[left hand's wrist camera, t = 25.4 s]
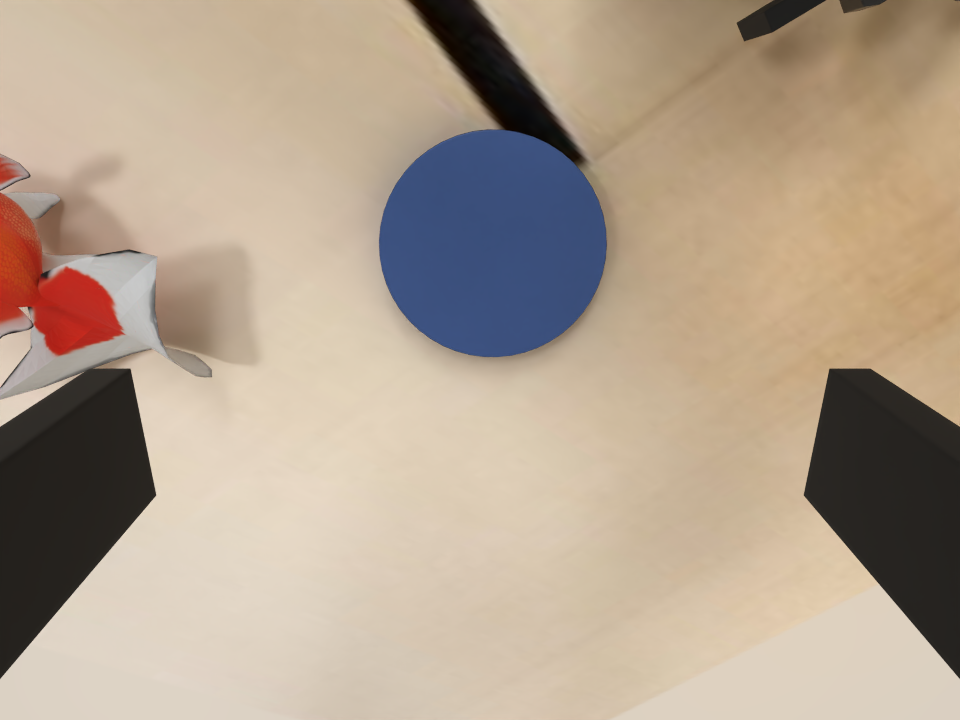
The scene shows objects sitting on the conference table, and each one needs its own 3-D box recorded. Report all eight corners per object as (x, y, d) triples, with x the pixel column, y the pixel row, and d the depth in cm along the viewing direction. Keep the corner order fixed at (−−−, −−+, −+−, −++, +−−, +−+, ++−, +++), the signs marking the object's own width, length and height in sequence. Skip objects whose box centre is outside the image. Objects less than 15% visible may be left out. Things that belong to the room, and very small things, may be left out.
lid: (426, 370, 36) (423, 382, 34) (352, 171, 33) (344, 174, 31) (623, 311, 35) (630, 321, 33) (568, 97, 31) (573, 95, 30)
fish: (15, 28, 26) (-154, 181, 20) (288, 278, 36) (231, 431, 30) (-107, 138, 31) (-273, 289, 25) (164, 332, 41) (93, 473, 35)
